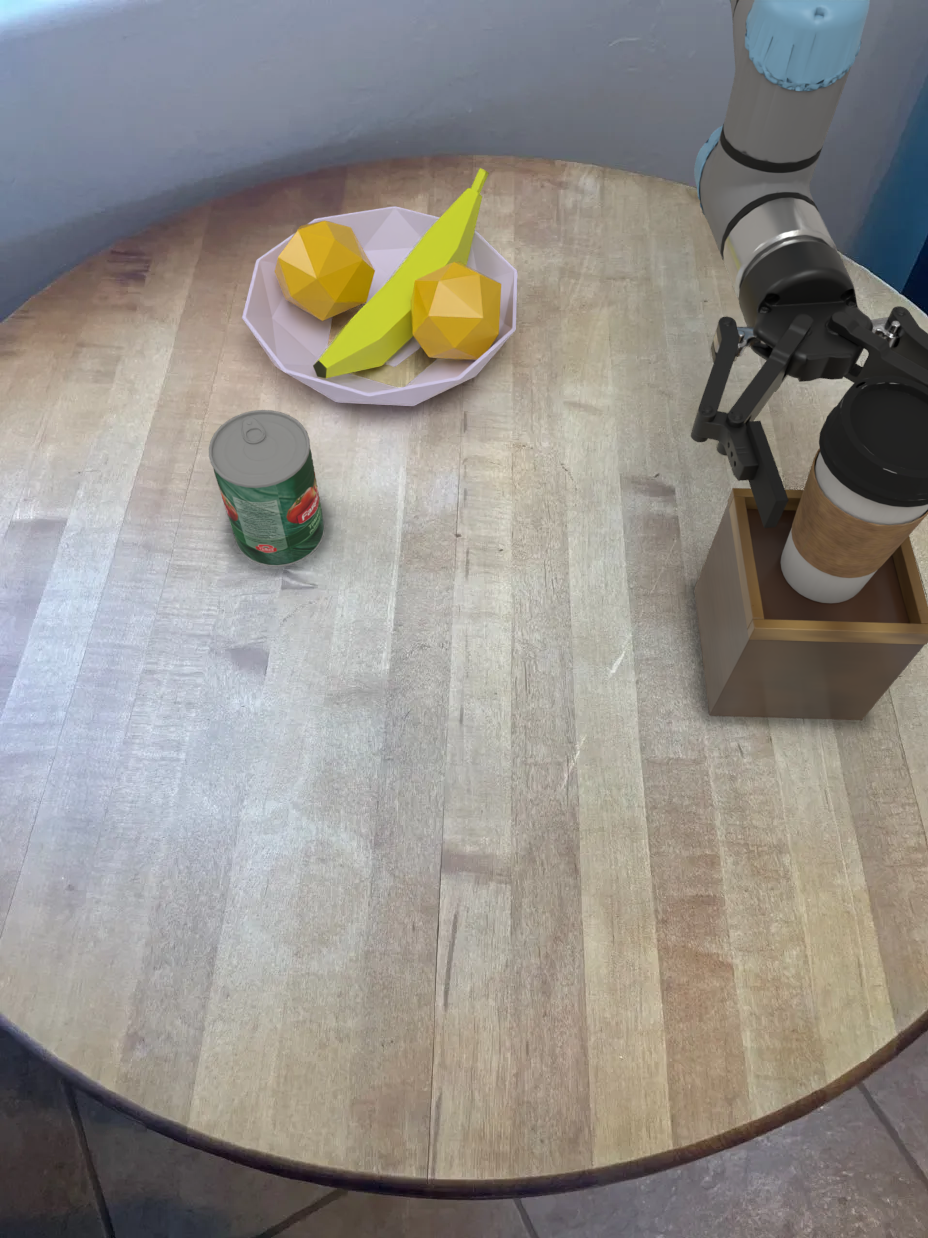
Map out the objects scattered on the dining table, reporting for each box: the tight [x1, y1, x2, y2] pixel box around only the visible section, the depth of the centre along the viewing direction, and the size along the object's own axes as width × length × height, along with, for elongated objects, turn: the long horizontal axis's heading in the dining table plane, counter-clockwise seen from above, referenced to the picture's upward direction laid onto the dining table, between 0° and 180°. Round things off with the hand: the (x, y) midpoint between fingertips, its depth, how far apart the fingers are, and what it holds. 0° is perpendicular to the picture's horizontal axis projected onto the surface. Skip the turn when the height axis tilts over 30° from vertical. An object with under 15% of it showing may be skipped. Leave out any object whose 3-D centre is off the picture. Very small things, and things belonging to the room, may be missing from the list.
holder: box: [693, 487, 928, 721], centre depth 73 cm, size 12×12×14 cm
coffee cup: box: [781, 376, 928, 603], centre depth 62 cm, size 8×8×15 cm
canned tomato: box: [208, 409, 326, 568], centre depth 80 cm, size 8×8×11 cm
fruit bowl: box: [241, 167, 518, 407], centre depth 93 cm, size 28×27×11 cm
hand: (883, 506), depth 60 cm, fingers open, 13 cm apart
